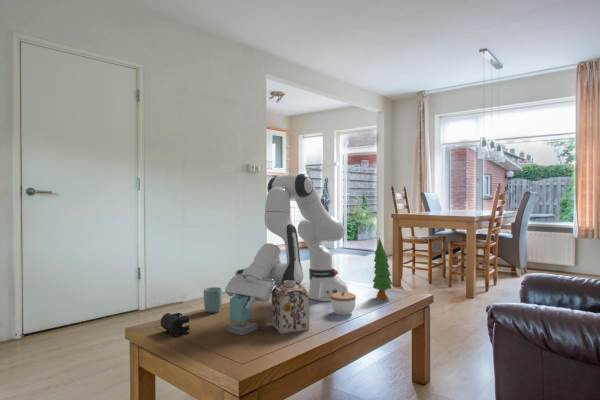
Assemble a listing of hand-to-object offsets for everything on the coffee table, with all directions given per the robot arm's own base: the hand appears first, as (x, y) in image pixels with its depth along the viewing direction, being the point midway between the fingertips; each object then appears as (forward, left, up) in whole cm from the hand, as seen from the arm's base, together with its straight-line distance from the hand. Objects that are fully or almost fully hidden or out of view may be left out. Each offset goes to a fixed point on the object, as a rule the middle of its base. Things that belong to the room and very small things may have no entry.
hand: (239, 307), depth 150 cm
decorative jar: (-19, -2, -9) cm, 21 cm away
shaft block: (-1, -1, -9) cm, 9 cm away
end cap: (+24, 0, -9) cm, 26 cm away
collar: (0, 0, -4) cm, 4 cm away
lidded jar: (-42, -20, -9) cm, 47 cm away
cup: (+15, -27, -9) cm, 32 cm away
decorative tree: (-65, -44, -9) cm, 79 cm away
